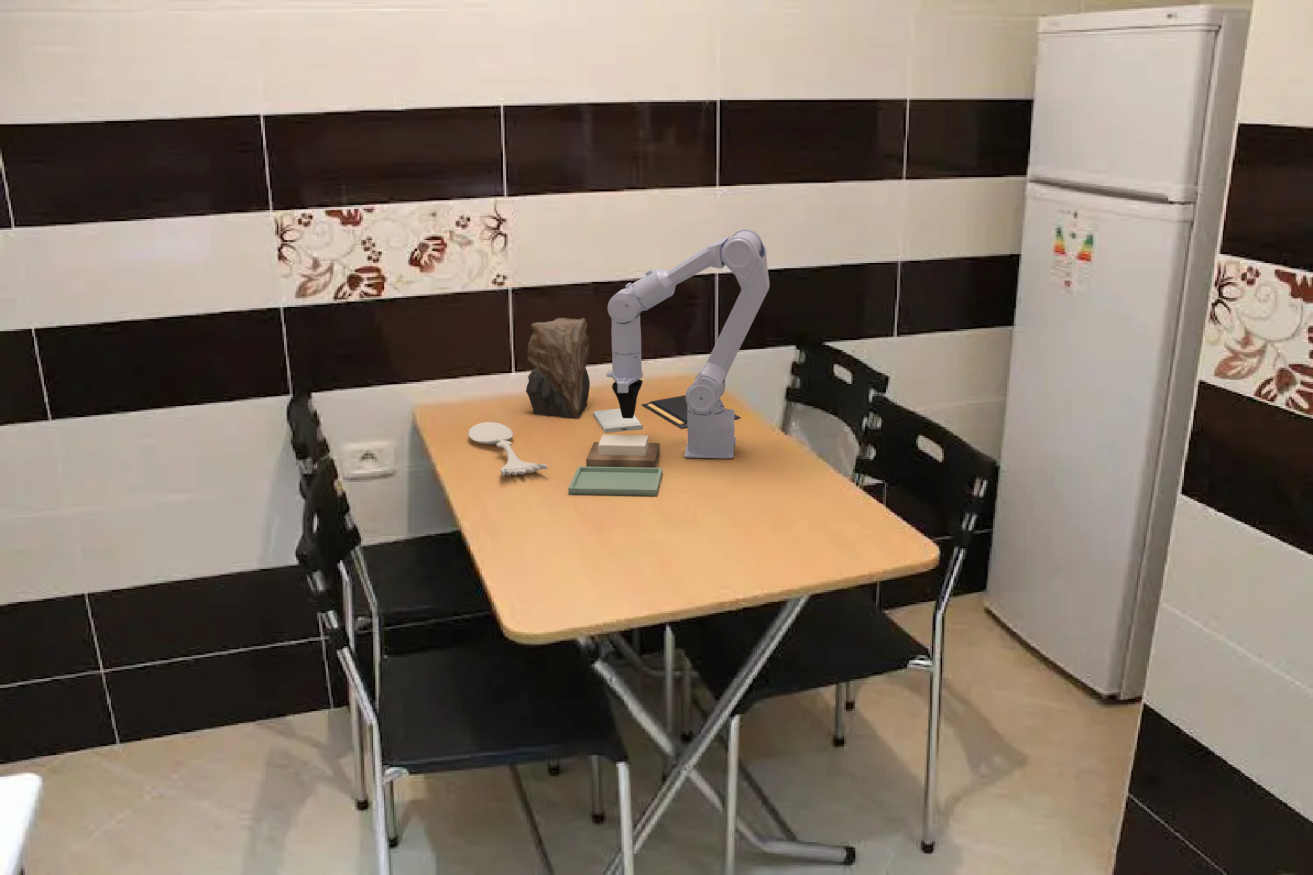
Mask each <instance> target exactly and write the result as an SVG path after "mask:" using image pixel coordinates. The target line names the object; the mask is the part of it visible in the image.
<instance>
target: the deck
mask: <svg viewBox="0 0 1313 875" xmlns="http://www.w3.org/2000/svg"><path fill="white" fill-rule="evenodd" d="M599 442H600V441H594V442H593V444H592V446H591V448H590V450H589V452H588V453H587V457H586V459H585V467H646V468H658V467H657V466H658V462H659V458H660V454H661V448H660V442H649V446H648V449H647V452H646V455H645V456H622V455H598V444H599Z"/></svg>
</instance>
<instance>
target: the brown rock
mask: <svg viewBox="0 0 1313 875" xmlns="http://www.w3.org/2000/svg"><path fill="white" fill-rule="evenodd" d="M530 328H531V330H532V334H531V335H530V338H529V340H528V343H527V349H526V351H527V352H526V354H527V361H528V362H529V363H530V365H531V366H532V369H531V371H530V373H529V375H527V378H528V379H527V380H528V383H527V384H526V389H525V393H526V394H527V396H528V399H529V401H530V404H531V408H532V409H533V410H532V412H533V413H532V414H533V415H537V416H547V417H555V418H561V419H572V420H580V417H581V415H582V414H583V412H585V410H586V408H587V407H588V400H589V396H590V395H589V394H590V385H591V383H590V377H589V374H588V370H587V364H588V360H589V355H590V339H589V336H588V334H587V328H588V322H587V320H586V318H585V317H582V318H578V319H577V318H569V317H568V318H567V317H559V318H557V317H556V318H554V320H552V321H551V320H550V321H549V320H548V321H546V322H541V321H540V322H539V321H538V322H537V321H536V322H532V323H531V324H530Z"/></svg>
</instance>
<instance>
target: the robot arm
mask: <svg viewBox="0 0 1313 875" xmlns="http://www.w3.org/2000/svg"><path fill="white" fill-rule="evenodd" d="M767 252H768V251H767V248H766V246H765V245H764V242H763V241H762V239H761V237H760V235H758V233H757V232H755V231H754V230H752V229H745V228H744V229H740V230H738V231H736V232H735V233H734V234H733V235H732V236H731V235H728V236H727V235H726V236H724V237H722V238H721V239H718V240H716V241H714V242H712V243H709V244H708V245H706V246H705V247H703V248H702V249H700V250H698V251H697V252H696V253H694V254H692V255H690V256H689V257H687V258H685V259H684V260H683V261H681V262H680V263H678V264H677V265H675V266H674V267H672V268H670V269H668V270H667V269H663V268H656V269H653V268H650V269H648V270H647V271H646V272H645V275H644V276H643V277H641V278H640V279H638V280H637V281H634V282H633V283H632V282H629V283H627V284H626V285H625V288H622V289H620V290H619V291H618V292H616V293H615V294H614V295H613V296H612V297H611V298H610V299H609V301H608V304H607V313H608V315H609V317H610V318H611V329H610V330H611V355H612V356H611V358H612V360H611V361H612V362H611V363H612V364H611V366H612V370H611V371H610V370H609V371H607V372H606V378H612V379H613V383H612V385H611V388H612V391H613V392H614V394H615V396H616V399H617V401H618V405H619V408H620V410H621V414H622V417H623V418H633V417H634V415H635V413H636V407H637V400H638V395H639V392H640V390H641V388H642V385H643V380H642V378H643V376H644V374H643V371H642V367H643V366H642V332H641V331H642V327H641V313H642V312H643V311H645V312H646V311H648V310H649V309H651V308H653V307H655V306H656V305H658V304H659V303H662V302H663V301H665V300H666V299H668V298H670V297H672V296H673V295H674V293H675V290H676V286H677V285H679V284H681V283H682V282H684V281H686V280H688V279H690V278H692V277H693V276H695V275H697V274H699V273H701V272H702V271H705V270H706V269H708V268H716V269H723V268H725V266H726V268H728V270H729V271H730V272H731V273H732V274H733V275H734V276H735V278H736V281H737V283H738V285H739V287H740V293H739V294H738V297H737V298H736V301H735V303H734V304H733V307H732V309H731V311H730V313H729V315H728V318H727V319H726V321H725V323H724V324H723V325H724V326H723V327H722V330H721V332H720V334H719V336H718V338H717V340H716V343H715V344H714V347H713V349H712V350H711V352H710V354H709V356H708V359H707V360H706V363H705V364H704V366H703V369H702V370H701V371H700V372H699V373H698V374H697V375H696V376H695V379H694V381H693V382H692V384H691V385H689V387H688V388H687V390H686V391H685V395H686V396H685V398H686V403H687V405H688V406H687V418H688V428H687V443H686V446H685V451H684V458H689V459H733V458H734V455H735V454H734V452H735V447H736V446H737V437H736V436H735V420H734V414H735V409H732V408H731V409H730V408H725V405H724V403H723V401H722V399H721V398H722V396H723V395H724V394H725V391H726V378H727V376H728V375H729V371H730V369H731V367H732V364H733V363H734V361H735V360H736V359H735V358H736V357H737V354H738V353H739V350H740V348H742V347H741V346H742V345H743V343H744V341H745V338H746V337H747V334H748V332H749V331H750V328H751V326H752V324H753V322H754V320H755V318H756V316H757V314H758V312H759V310H760V308H761V306H762V304H763V302H764V300H765V297H766V296H767V294H768V292H769V289H770V276H769V268H768V261H767Z"/></svg>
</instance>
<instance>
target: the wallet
mask: <svg viewBox="0 0 1313 875" xmlns="http://www.w3.org/2000/svg"><path fill="white" fill-rule="evenodd" d="M685 396H686V394H685V395H680V396H673V397H667V398H661V399H656V400H651V401H648V402H647V403H642V404H640V406H641V407H643V408H645V409H646V410H648V411H650V412H652V413H653V414H655V415H657V416H658V417H660V418H662V419H664V420H666V421H667V422H668V423H670V424H672V425H673V426H675V427H677V428H679V429H680V430H683V429H688V418H687V406H688V405H687V403H686V398H685ZM740 419H741V416H739V415H737V414H735V413H734V421H737V420H740Z"/></svg>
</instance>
